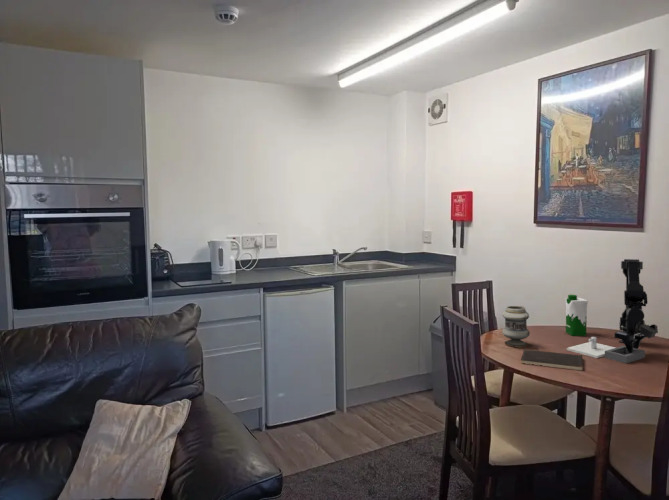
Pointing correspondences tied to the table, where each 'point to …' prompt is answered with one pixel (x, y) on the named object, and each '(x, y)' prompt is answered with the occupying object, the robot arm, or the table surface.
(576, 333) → the milk carton
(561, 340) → the table surface
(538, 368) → the table surface
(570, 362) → the hardcover book
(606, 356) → the grey rectangular frame
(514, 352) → the table surface
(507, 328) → the apothecary jar
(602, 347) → the hook board
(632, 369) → the table surface
